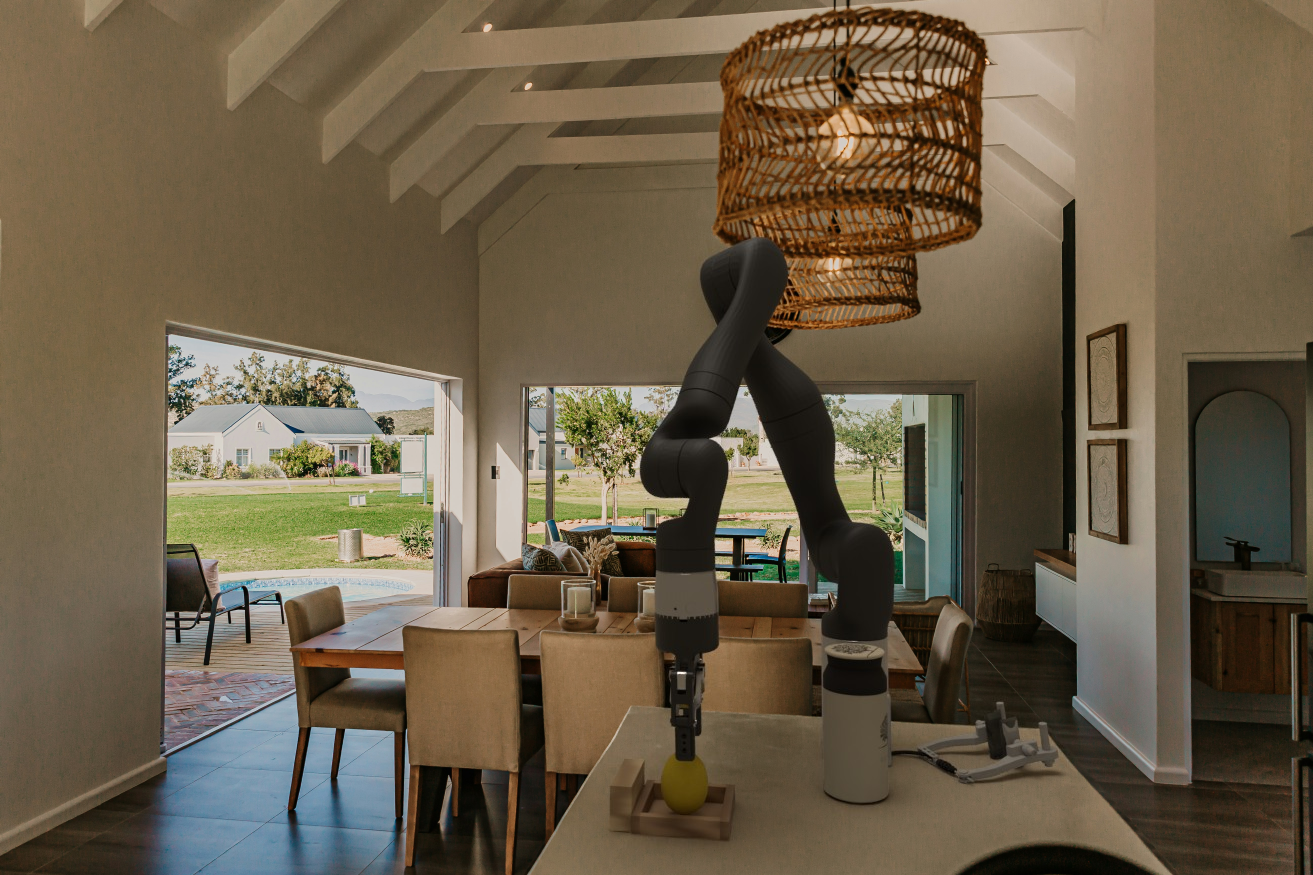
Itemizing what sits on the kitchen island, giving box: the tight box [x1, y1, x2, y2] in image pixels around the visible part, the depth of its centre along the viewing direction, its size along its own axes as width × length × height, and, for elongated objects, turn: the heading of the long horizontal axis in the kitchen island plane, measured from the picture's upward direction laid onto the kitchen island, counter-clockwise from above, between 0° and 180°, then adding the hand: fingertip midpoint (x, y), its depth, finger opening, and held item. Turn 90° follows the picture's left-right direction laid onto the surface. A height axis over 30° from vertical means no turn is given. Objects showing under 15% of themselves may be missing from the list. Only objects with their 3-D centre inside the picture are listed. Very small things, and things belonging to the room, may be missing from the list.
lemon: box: [660, 753, 709, 815], centre depth 98 cm, size 6×6×8 cm
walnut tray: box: [630, 779, 736, 842], centre depth 99 cm, size 11×11×3 cm
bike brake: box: [891, 701, 1059, 784], centre depth 115 cm, size 14×7×20 cm
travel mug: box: [822, 643, 889, 804], centre depth 106 cm, size 8×8×18 cm
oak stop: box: [609, 758, 646, 833], centre depth 99 cm, size 2×9×5 cm, turn 171°
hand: (689, 747), depth 98 cm, fingers open, 8 cm apart
